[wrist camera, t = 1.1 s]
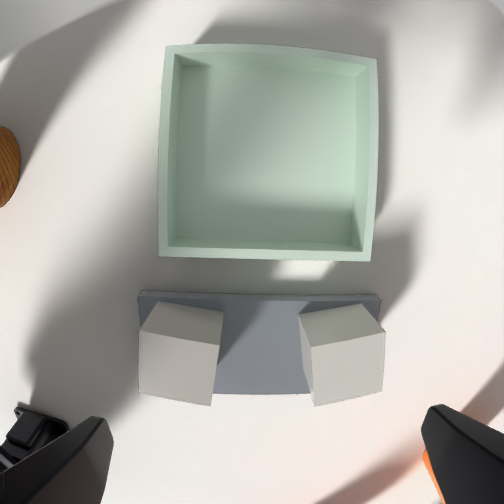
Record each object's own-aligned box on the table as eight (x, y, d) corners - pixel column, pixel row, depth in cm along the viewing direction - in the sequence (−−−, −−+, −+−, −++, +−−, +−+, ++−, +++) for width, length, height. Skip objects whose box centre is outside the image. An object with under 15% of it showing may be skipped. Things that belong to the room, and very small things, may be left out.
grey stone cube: (215, 367, 20) (210, 406, 16) (154, 356, 20) (138, 392, 16) (224, 312, 19) (219, 345, 15) (158, 300, 19) (139, 330, 15)
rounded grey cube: (360, 356, 20) (381, 391, 16) (303, 368, 20) (314, 406, 16) (360, 303, 19) (385, 331, 15) (298, 314, 19) (310, 347, 15)
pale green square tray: (352, 249, 19) (370, 261, 16) (171, 244, 19) (158, 256, 16) (358, 74, 17) (376, 59, 14) (176, 63, 16) (166, 46, 13)
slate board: (358, 381, 22) (362, 389, 21) (152, 380, 21) (149, 388, 20) (375, 294, 20) (381, 299, 19) (142, 290, 20) (137, 295, 19)
